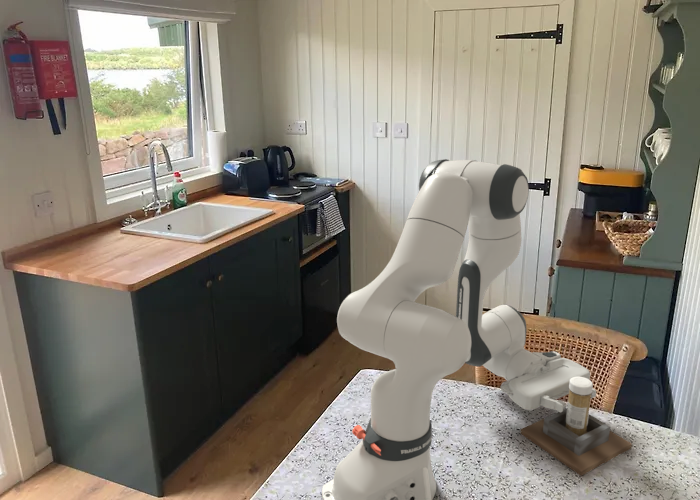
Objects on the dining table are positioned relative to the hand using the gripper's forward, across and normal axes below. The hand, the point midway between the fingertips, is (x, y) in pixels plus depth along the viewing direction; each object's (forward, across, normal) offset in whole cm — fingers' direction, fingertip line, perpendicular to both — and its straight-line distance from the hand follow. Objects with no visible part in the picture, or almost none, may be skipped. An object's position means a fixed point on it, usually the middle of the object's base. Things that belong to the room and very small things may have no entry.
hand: (579, 401), depth 121 cm
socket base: (0, 0, +10) cm, 10 cm away
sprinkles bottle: (0, 0, +9) cm, 9 cm away
